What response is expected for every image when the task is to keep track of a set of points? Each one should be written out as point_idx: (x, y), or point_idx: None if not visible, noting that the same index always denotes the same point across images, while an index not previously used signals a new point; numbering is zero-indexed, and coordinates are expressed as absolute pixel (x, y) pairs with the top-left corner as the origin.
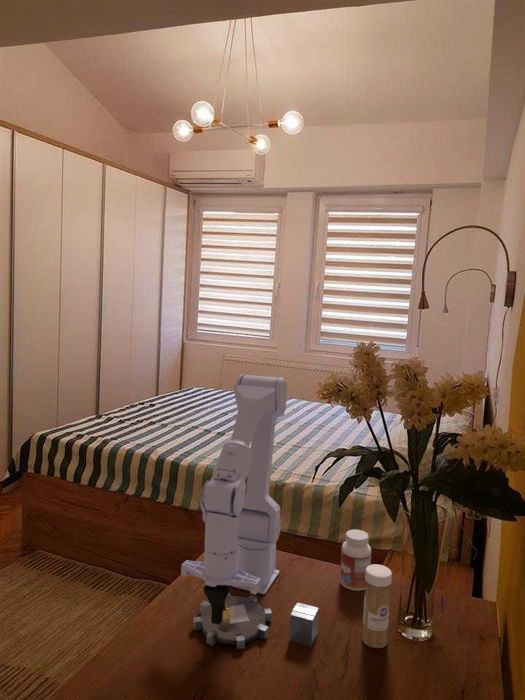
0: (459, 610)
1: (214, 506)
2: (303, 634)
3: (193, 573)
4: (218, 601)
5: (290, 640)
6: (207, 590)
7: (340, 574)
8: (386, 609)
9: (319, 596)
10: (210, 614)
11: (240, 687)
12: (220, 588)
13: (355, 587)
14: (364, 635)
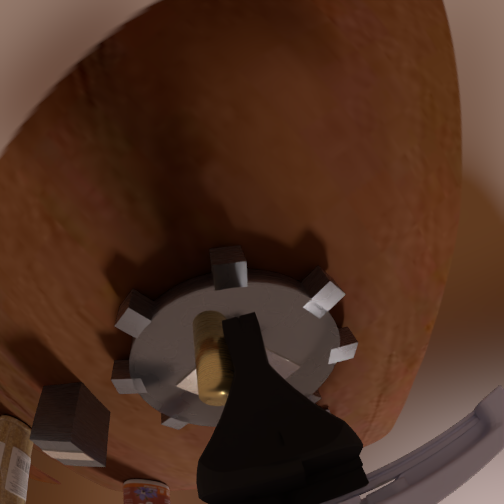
0: (36, 474)
1: None
2: (51, 405)
3: (467, 456)
4: (227, 419)
5: (79, 383)
6: (320, 455)
7: (163, 494)
8: None
9: (158, 463)
10: (304, 337)
11: (15, 174)
12: (242, 497)
13: (129, 484)
14: (15, 430)
